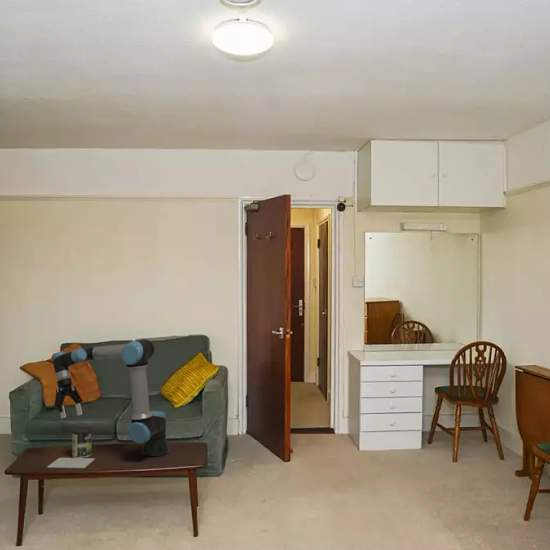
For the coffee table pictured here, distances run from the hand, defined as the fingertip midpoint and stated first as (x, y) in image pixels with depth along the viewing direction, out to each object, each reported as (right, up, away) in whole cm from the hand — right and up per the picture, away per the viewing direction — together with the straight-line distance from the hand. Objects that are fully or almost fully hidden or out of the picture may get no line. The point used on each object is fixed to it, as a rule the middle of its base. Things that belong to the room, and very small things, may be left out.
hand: (72, 416), depth 291 cm
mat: (+4, -22, -10) cm, 25 cm away
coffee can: (+4, -22, +3) cm, 23 cm away
